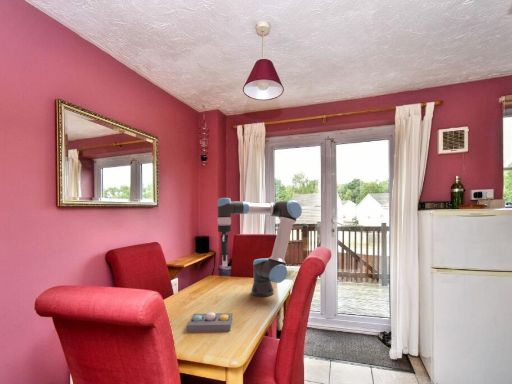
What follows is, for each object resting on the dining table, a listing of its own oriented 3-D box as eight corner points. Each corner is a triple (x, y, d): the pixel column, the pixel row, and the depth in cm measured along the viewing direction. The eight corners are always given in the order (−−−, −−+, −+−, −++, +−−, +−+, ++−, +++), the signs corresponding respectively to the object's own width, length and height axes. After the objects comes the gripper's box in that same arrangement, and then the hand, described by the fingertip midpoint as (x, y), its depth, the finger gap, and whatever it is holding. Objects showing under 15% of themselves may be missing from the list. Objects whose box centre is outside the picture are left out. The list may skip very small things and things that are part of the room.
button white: (216, 317, 134) (215, 311, 134) (214, 321, 129) (214, 315, 129) (207, 317, 134) (207, 312, 134) (205, 321, 129) (205, 315, 129)
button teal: (203, 320, 133) (203, 314, 134) (201, 324, 129) (201, 318, 129) (194, 320, 133) (194, 314, 134) (192, 324, 129) (192, 318, 129)
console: (232, 318, 138) (232, 312, 138) (230, 331, 124) (229, 324, 125) (193, 319, 138) (193, 313, 138) (187, 332, 124) (187, 325, 124)
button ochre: (229, 319, 134) (228, 314, 134) (228, 323, 129) (228, 317, 129) (220, 320, 134) (220, 314, 134) (219, 323, 129) (219, 317, 129)
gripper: (219, 224, 160) (219, 264, 158) (216, 225, 147) (216, 269, 145) (231, 224, 160) (232, 264, 158) (229, 225, 147) (230, 268, 145)
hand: (224, 266), depth 152 cm, fingers closed
